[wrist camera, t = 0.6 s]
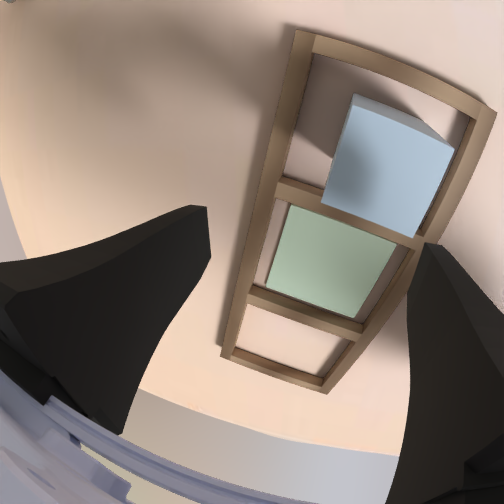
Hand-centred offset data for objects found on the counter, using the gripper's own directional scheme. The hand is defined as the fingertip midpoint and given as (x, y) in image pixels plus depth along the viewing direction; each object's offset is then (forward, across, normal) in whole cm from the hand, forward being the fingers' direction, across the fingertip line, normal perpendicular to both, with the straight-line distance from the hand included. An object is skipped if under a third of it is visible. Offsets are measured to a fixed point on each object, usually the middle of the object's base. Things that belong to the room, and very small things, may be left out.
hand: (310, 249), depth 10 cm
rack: (+9, 0, +7) cm, 11 cm away
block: (+9, -2, -2) cm, 9 cm away
